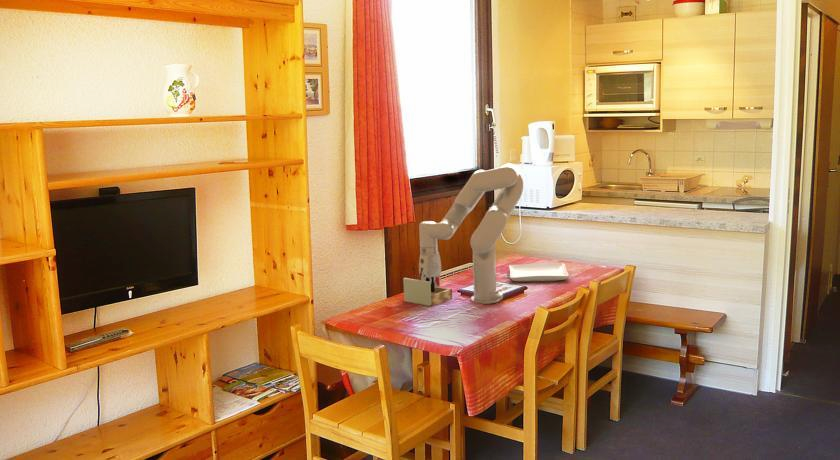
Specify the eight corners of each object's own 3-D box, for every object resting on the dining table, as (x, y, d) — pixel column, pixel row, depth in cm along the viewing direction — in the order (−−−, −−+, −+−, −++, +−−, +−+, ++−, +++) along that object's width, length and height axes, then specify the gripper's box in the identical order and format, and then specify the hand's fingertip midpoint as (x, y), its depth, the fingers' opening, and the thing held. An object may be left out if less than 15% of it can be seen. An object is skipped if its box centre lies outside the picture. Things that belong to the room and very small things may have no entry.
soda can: (439, 294, 343) (437, 267, 341) (423, 294, 344) (422, 267, 342) (441, 290, 350) (440, 264, 348) (426, 290, 351) (425, 264, 349)
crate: (425, 295, 341) (424, 284, 340) (452, 300, 331) (451, 289, 330) (406, 302, 331) (405, 291, 330) (433, 307, 322) (432, 295, 321)
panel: (406, 302, 331) (405, 277, 329) (431, 306, 322) (430, 281, 320) (404, 303, 330) (403, 278, 328) (429, 307, 321) (428, 282, 319)
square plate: (564, 270, 380) (564, 262, 379) (569, 283, 353) (569, 275, 352) (509, 271, 383) (508, 263, 382) (510, 284, 356) (509, 276, 355)
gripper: (424, 254, 321) (426, 296, 324) (446, 247, 332) (448, 289, 335) (410, 252, 325) (412, 294, 328) (433, 246, 337) (434, 287, 340)
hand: (430, 291), depth 332 cm, fingers closed
